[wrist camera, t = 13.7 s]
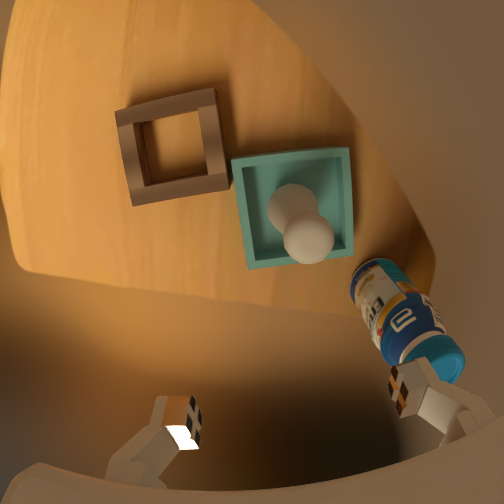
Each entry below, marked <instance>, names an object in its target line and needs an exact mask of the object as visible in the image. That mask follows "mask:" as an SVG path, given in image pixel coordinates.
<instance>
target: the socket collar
mask: <svg viewBox="0 0 504 504" xmlns="http://www.w3.org/2000/svg"><path fill="white" fill-rule="evenodd" d="M193 111H198V114H199V120H200V127H201V133H202V139H203V145H204V151H205V157H206V163H207V169H208V172H205V173H199V174H193V175H187V176H182V177H177V178H171V179H166V180H161V181H156V182H152V180H151V175H150V170H149V165H148V159H147V154H146V148H145V143H144V137H143V131H142V125H141V123H145V122H149V121H153V120H157V119H161V118H165V117H169V116H174V115H178V114H183V113H188V112H193ZM115 118H116V124H117V131H118V137H119V142H120V148H121V153H122V159H123V164H124V169H125V174H126V178H127V183H128V188H129V192H130V197H131V201H132V205H133V206H138V205H143V204H148V203H154V202H159V201H164V200H170V199H175V198H181V197H187V196H193V195H199V194H205V193H211V192H217V191H224V190H229V189H230V186H231V184H230V177H229V171H228V164H227V158H226V152H225V145H224V139H223V132H222V126H221V119H220V113H219V106H218V99H217V93H216V90H215V89H214V88H208V89H202V90H197V91H192V92H187V93H182V94H178V95H174V96H169V97H165V98H161V99H157V100H153V101H149V102H145V103H142V104H138V105H135V106H131V107H128V108H124V109H121V110H118V111H115Z"/></svg>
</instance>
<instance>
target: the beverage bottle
mask: <svg viewBox="0 0 504 504" xmlns="http://www.w3.org/2000/svg"><path fill="white" fill-rule="evenodd" d="M350 295H351V298H352V300H353V301H354V303H355V305H356V306H357V308H358V310H359V311H360V313H361V315H362V317H363V319H364V321H365V323H366V325H367V327H368V329H369V331H370V333H371V337H372V340H373V341H374V343H375V345H376V346H377V348H378V349H379V350H380V351H381V354H382V357H383V358H384V360H385V361H386V362H387V363H388V364H389V365H391V366H393V365H397V364H400V363H403V362H407V361H410V360H414V359H417V358H421V357H426V358H427V359H428V361H429V363H430V364H431V366H432V367H433V369H434V370H435V372H436V374H437V375H438V377H439V378H440V380H441V382H442V381H446V382H448V383H450V384H452V385H453V384H454V382H455V381H456V380H457V379H458V378H459V376H460V375H461V373H462V371H463V369H464V366H465V357H464V354H463V352H462V350H461V349H460V348H459V346H458V345H457V344H456V343H455V342H454V340H453V339H452V338H451V337H450V336H448V335H446V328H445V323H444V320H443V317H442V315H441V314H440V312H439V311H438V310H437V309H435V308H434V306H433V304H432V302H431V300H430V299H429V298H428V297H427V296H426V295H425V294H423V293H422V292H421V291H420V290H419V289H418V288H417V287H416V286H415V285H414V284H413V283H412V282H411V281H410V280H409V279H408V277H407V276H406V275H405V274H404V273H403V272H402V271H401V270H400V269H399V267H398V266H397V265H396V264H395V263H394V262H392V261H391V260H388V259H385V258H376V259H372V260H370V261H367V262H366V263H364V264H363V265H361V266H360V267H359V268H358V269H357V271H356V272H355V273H354V275H353V277H352V279H351V282H350Z"/></svg>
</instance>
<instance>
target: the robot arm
mask: <svg viewBox="0 0 504 504" xmlns="http://www.w3.org/2000/svg"><path fill="white" fill-rule="evenodd" d="M391 374H392V377H390V378H389V382H388V390H389V394H390V397H391V399H392V400H394V401H396V405H395V408H396V411H397V413H398V415H399V417H400V418H403V417H406V416H410V415H413V414H416V413H418V415H419V416H421V417H422V418H424V419H425V420H426V421H428V422H429V423H430V424H432V425H434V426H435V427H436V428H437V429H439V430H440V431H442V432H443V433H444V434H446V435H445V436H444V438H443V440H442V441H441V443H440V445H439V447H440V448H438V449H435V450H433V451H430V452H428V453H425V454H422V455H420V456H417V457H414V458H411V459H409V460H406V461H403V462H400V463H397V464H393V465H390V466H387V467H384V468H380V469H377V470H373V471H370V472H366V473H362V474H358V475H354V476H349V477H345V478H340V479H336V480H331V481H325V482H320V483H314V484H309V485H302V486H294V487H286V488H276V489H266V490H252V491H186V490H171V489H167V487H166V486H165V485H164V484H163V483H162V482H161V481H160V480H159V479H158V476H159V475H160V474H161V473H162V472H163V470H164V469H165V468H166V467H167V466H168V464H169V463H170V462H171V461H172V459H173V458H174V457H175V456H176V454H177V453H178V452H179V451H180V449H199V445H200V434H199V432H198V431H199V430H200V429H201V428H202V415H201V411H200V409H199V407H197V406H196V400H195V398H194V397H193V396H158V397H157V399H156V402H155V405H154V409H153V413H152V416H151V420H150V424H149V426H145V427H144V428H143V429H142V430H141V431H140V432H138V433H137V434H136V435H135V436H134V437H133V438H132V439H131V440H130V441H128V442H127V443H126V444H125V445H124V446H123V447H122V448H120V449H119V450H118V451H117V452H116V453H115V454H114V455H112V456H111V459H110V462H109V465H108V468H107V472H106V475H105V479H104V480H103V479H98V478H94V477H89V476H85V475H81V474H77V473H73V472H70V471H67V470H63V469H60V468H56V467H53V466H50V465H47V464H43V463H36V464H34V465H32V466H31V467H29V468H27V469H26V470H24V471H23V472H21V473H20V474H18V475H17V476H16V477H15V478H14V479H13V480H12V482H11V483H10V485H9V487H8V489H7V491H6V493H5V495H4V498H3V500H2V502H1V504H504V416H502V417H501V418H498V419H497V420H496V419H495V417H494V415H493V414H492V412H491V411H490V409H489V407H488V406H487V404H486V402H485V401H484V400H483V399H481V398H479V397H476V396H474V395H472V394H470V393H468V392H466V391H464V390H462V389H460V388H458V387H456V386H454V385H452V384H450V383H448V382H446V381H442V382H441V380H440V378H439V377H438V375H437V374H436V372H435V370H434V369H433V367H432V366H431V364H430V363H429V361H428V359H427V358H426V357H421V358H417V359H414V360H410V361H407V362H403V363H400V364H397V365H393V366H392V368H391Z"/></svg>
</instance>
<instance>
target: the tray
mask: <svg viewBox="0 0 504 504" xmlns="http://www.w3.org/2000/svg"><path fill="white" fill-rule="evenodd" d="M231 165H232V171H233V178H234V184H235V191H236V197H237V204H238V210H239V216H240V223H241V229H242V235H243V242H244V248H245V254H246V260H247V267H248V270H249V269H257V268H265V267H272V266H280V265H287V264H295V263H299V262H298V261H296V260H294V259H292V258H291V256H290V255H289V254H288V252H287V251H286V249H285V248H284V241H283V234H282V233H281V232H280V231H278V230H277V229H276V228H275V227H274V226H273V224H272V223H271V221H270V220H269V219H268V212H267V205H268V202H269V199H270V196H271V195H272V194H273V193H274V192H275V191H276V190H277V189H278V188H279V187H281V186H284V185H286V184H289V183H290V184H299V185H303V186H304V187H306V188H308V189H310V190H311V191H312V192H313V194H314V196H315V197H316V199H317V202H318V209H319V215H321V216H322V217H324V218H326V219H327V220H328V222H329V224H330V225H331V227H332V229H333V232H334V245H333V248H332V250H331V252H330V254H329V255H328V256H327V257H326V258H325V259H331V258H338V257H345V256H352V255H354V242H353V204H352V184H351V168H350V155H349V147H344V146H327V147H314V148H303V149H293V150H284V151H275V152H267V153H259V154H251V155H244V156H237V157H232V159H231Z"/></svg>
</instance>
